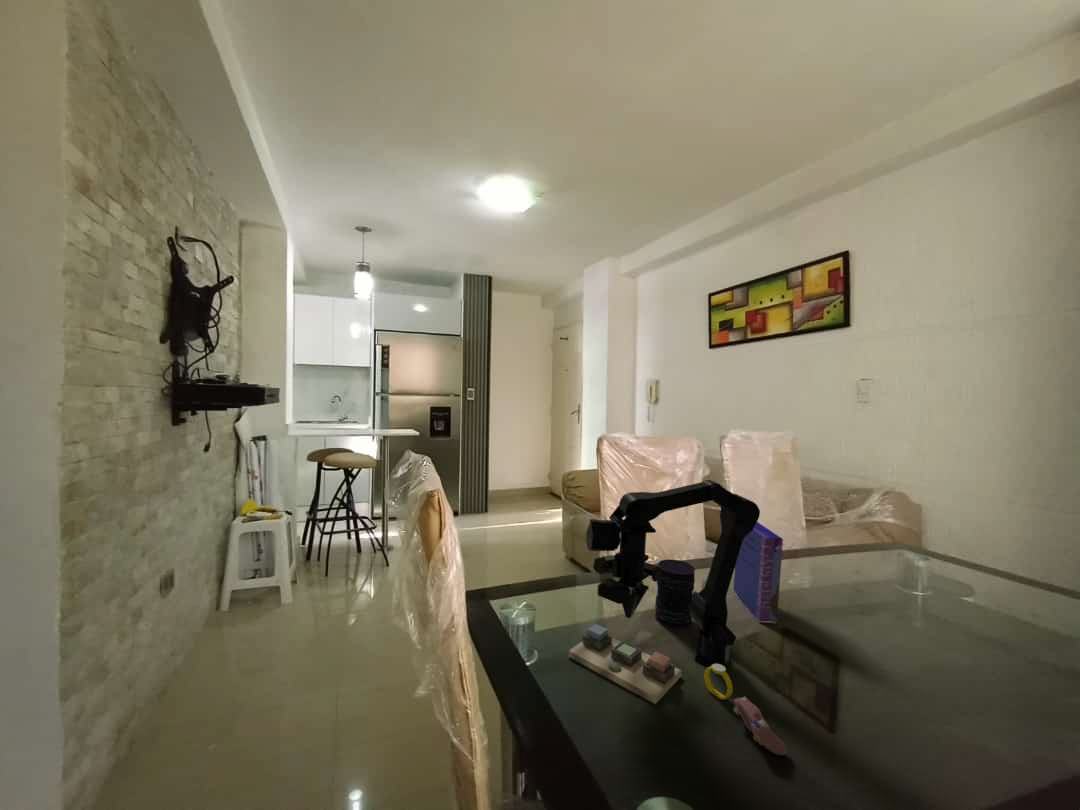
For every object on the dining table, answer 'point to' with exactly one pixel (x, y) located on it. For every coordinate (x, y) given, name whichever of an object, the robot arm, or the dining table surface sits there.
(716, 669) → the gold ring
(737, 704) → the pink shoe
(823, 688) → the dining table surface
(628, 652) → the sage button
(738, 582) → the cereal box
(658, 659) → the terracotta button
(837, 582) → the dining table surface
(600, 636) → the slate button
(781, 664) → the dining table surface
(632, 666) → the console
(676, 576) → the storage jar
